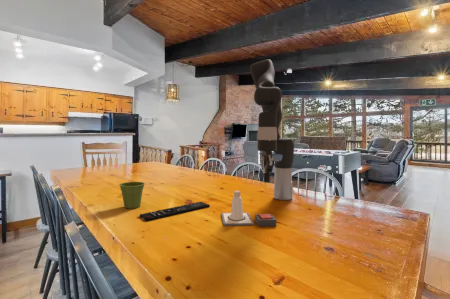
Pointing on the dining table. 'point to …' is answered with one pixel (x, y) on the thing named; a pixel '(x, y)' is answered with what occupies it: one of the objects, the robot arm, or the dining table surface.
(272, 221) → the button housing
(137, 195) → the plant pot
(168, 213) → the remote control
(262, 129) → the robot arm
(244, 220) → the board
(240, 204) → the salt shaker
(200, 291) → the dining table surface
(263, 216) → the button
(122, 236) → the dining table surface
